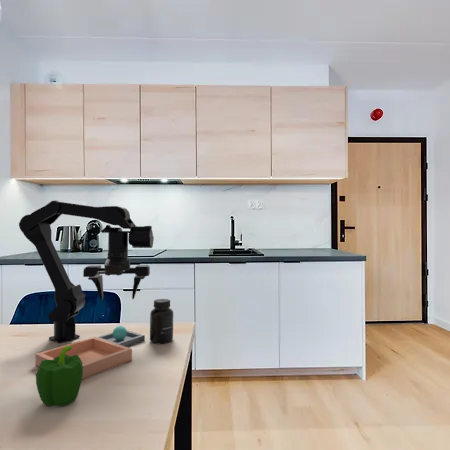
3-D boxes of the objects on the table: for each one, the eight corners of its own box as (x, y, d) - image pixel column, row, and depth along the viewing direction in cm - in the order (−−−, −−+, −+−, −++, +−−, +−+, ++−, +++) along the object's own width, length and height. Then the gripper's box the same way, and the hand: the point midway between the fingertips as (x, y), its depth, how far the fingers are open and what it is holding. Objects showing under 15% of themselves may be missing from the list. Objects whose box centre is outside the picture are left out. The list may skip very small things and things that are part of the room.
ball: (109, 340, 99) (109, 326, 99) (121, 336, 102) (121, 323, 102) (118, 343, 97) (118, 329, 97) (129, 339, 100) (129, 325, 100)
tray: (94, 343, 99) (94, 337, 99) (123, 334, 107) (123, 329, 107) (116, 350, 93) (116, 344, 93) (144, 340, 101) (144, 335, 101)
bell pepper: (52, 417, 60) (53, 361, 60) (27, 404, 64) (28, 352, 65) (93, 397, 67) (93, 347, 67) (68, 387, 72) (68, 339, 72)
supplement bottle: (168, 345, 97) (168, 303, 97) (145, 343, 98) (146, 302, 98) (176, 337, 104) (176, 298, 104) (155, 336, 105) (155, 297, 105)
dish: (35, 366, 82) (35, 353, 82) (94, 347, 95) (94, 336, 95) (71, 384, 73) (71, 370, 73) (131, 360, 86) (131, 348, 86)
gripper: (78, 249, 94) (77, 306, 94) (147, 249, 96) (146, 304, 96) (88, 247, 105) (88, 297, 105) (150, 247, 107) (149, 296, 107)
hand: (117, 299), depth 103 cm, fingers open, 9 cm apart
